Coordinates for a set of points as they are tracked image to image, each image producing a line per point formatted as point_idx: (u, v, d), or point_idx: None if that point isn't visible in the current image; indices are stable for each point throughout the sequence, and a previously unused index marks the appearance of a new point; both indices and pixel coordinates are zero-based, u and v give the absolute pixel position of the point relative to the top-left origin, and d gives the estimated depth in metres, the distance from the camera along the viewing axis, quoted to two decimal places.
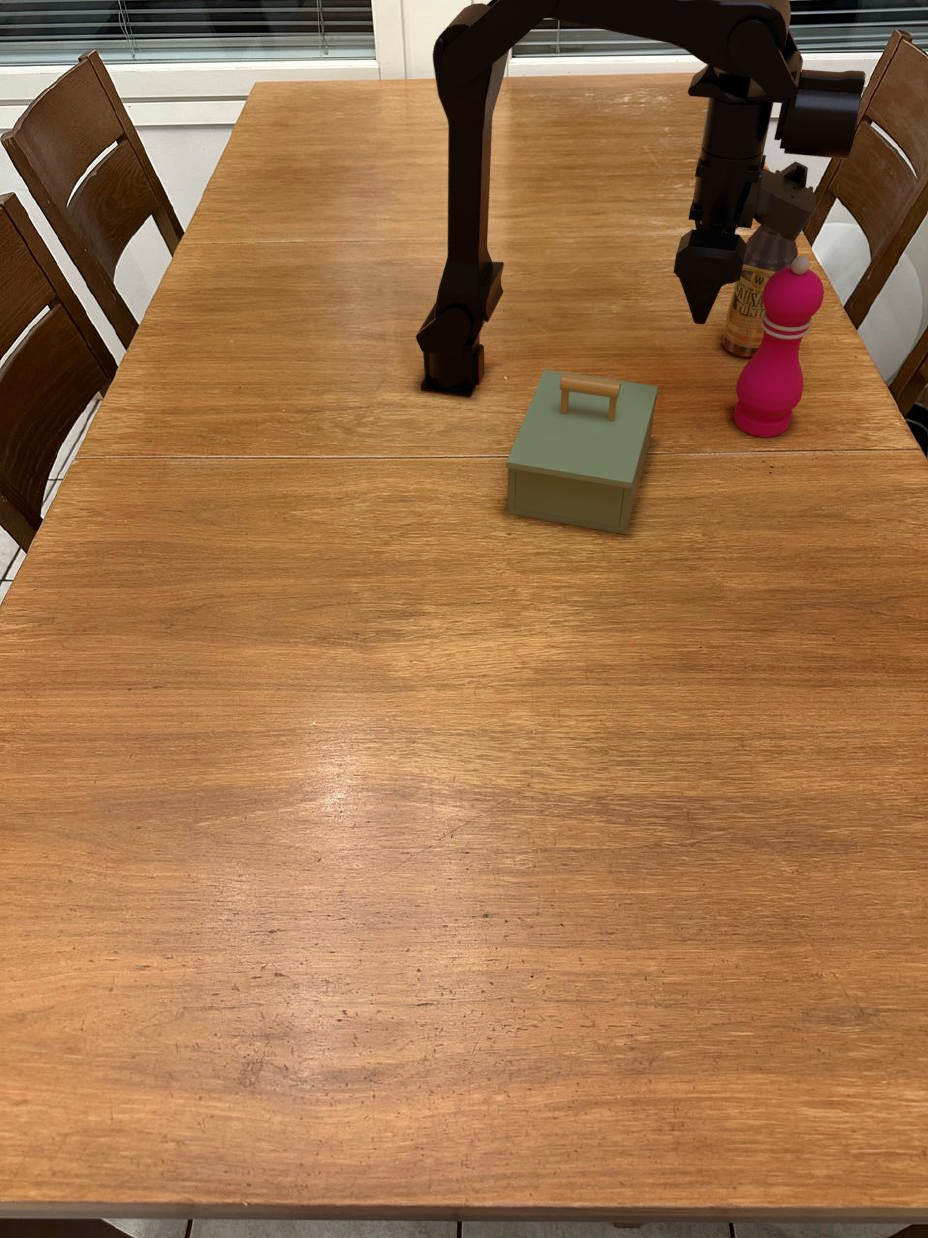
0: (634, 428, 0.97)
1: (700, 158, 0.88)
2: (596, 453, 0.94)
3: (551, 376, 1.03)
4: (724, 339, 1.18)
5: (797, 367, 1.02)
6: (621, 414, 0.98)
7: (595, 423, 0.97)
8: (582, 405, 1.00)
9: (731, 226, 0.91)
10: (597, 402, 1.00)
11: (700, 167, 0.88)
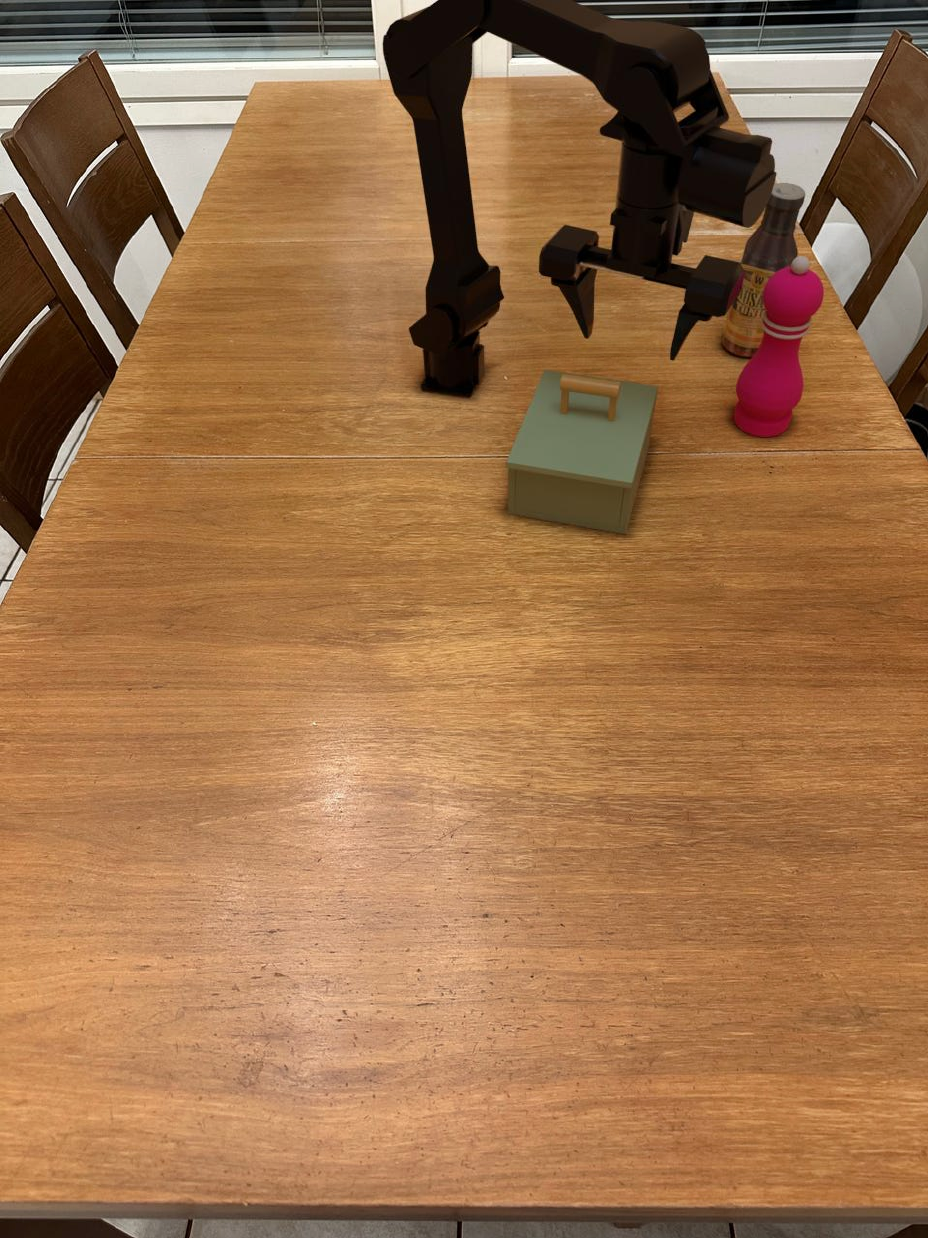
0: (634, 428, 0.97)
1: (647, 219, 0.83)
2: (596, 453, 0.94)
3: (551, 376, 1.03)
4: (724, 339, 1.18)
5: (797, 367, 1.02)
6: (621, 414, 0.98)
7: (595, 423, 0.97)
8: (582, 405, 1.00)
9: None
10: (597, 402, 1.00)
11: (663, 224, 0.83)
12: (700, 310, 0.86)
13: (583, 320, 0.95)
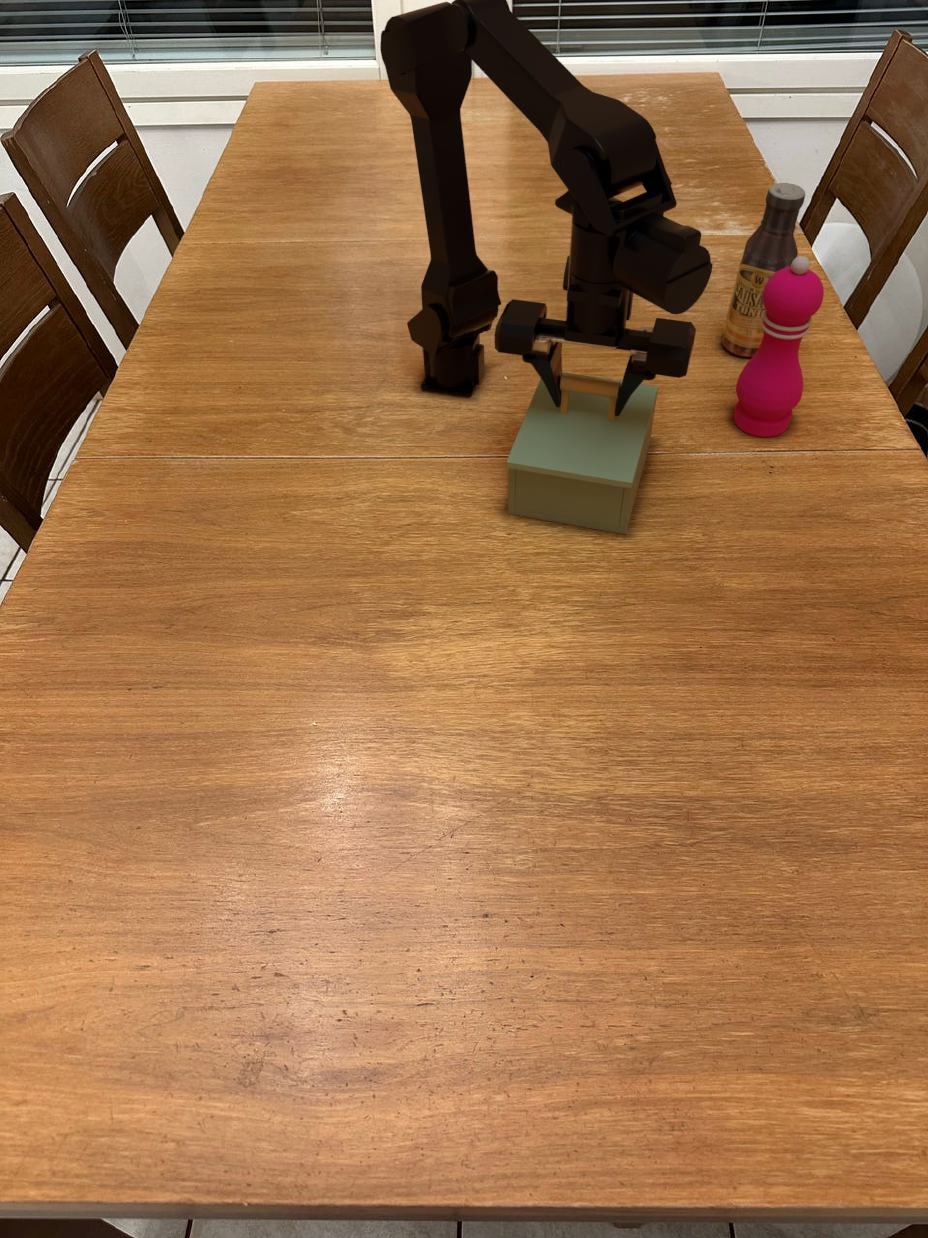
0: (634, 428, 0.97)
1: (604, 293, 0.85)
2: (596, 453, 0.94)
3: None
4: (724, 339, 1.18)
5: (797, 367, 1.02)
6: (621, 414, 0.98)
7: (595, 423, 0.97)
8: (582, 405, 1.00)
9: None
10: (597, 402, 1.00)
11: (620, 296, 0.85)
12: (662, 373, 0.89)
13: (555, 391, 0.96)
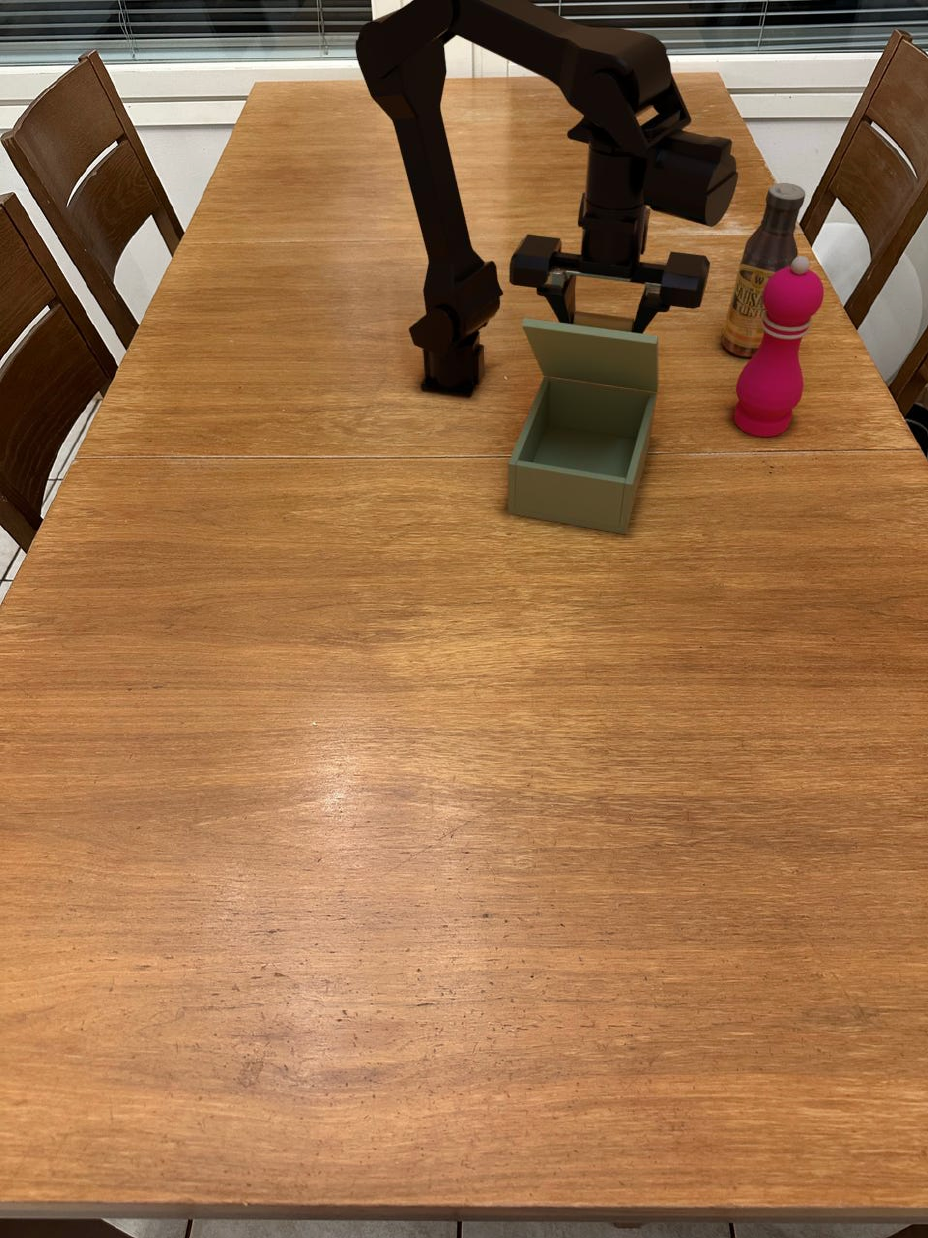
0: None
1: (620, 220, 0.85)
2: None
3: None
4: (724, 339, 1.18)
5: (797, 367, 1.02)
6: None
7: None
8: None
9: None
10: None
11: (635, 223, 0.85)
12: (676, 304, 0.89)
13: None
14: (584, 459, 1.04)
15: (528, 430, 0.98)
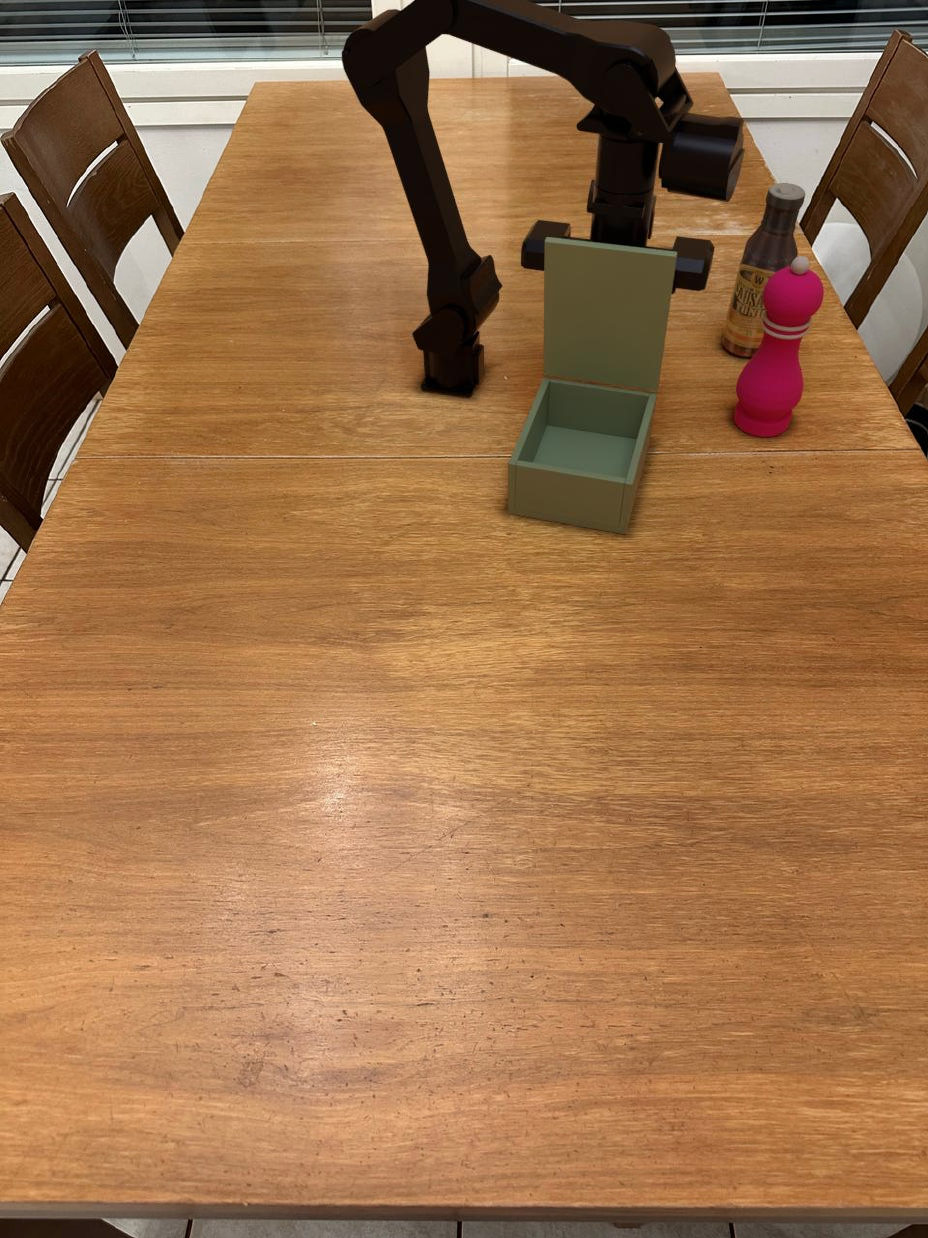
0: None
1: (628, 205, 0.89)
2: None
3: None
4: (724, 339, 1.18)
5: (797, 367, 1.02)
6: None
7: None
8: None
9: None
10: None
11: (643, 208, 0.89)
12: (682, 286, 0.92)
13: None
14: (584, 459, 1.04)
15: (528, 430, 0.98)
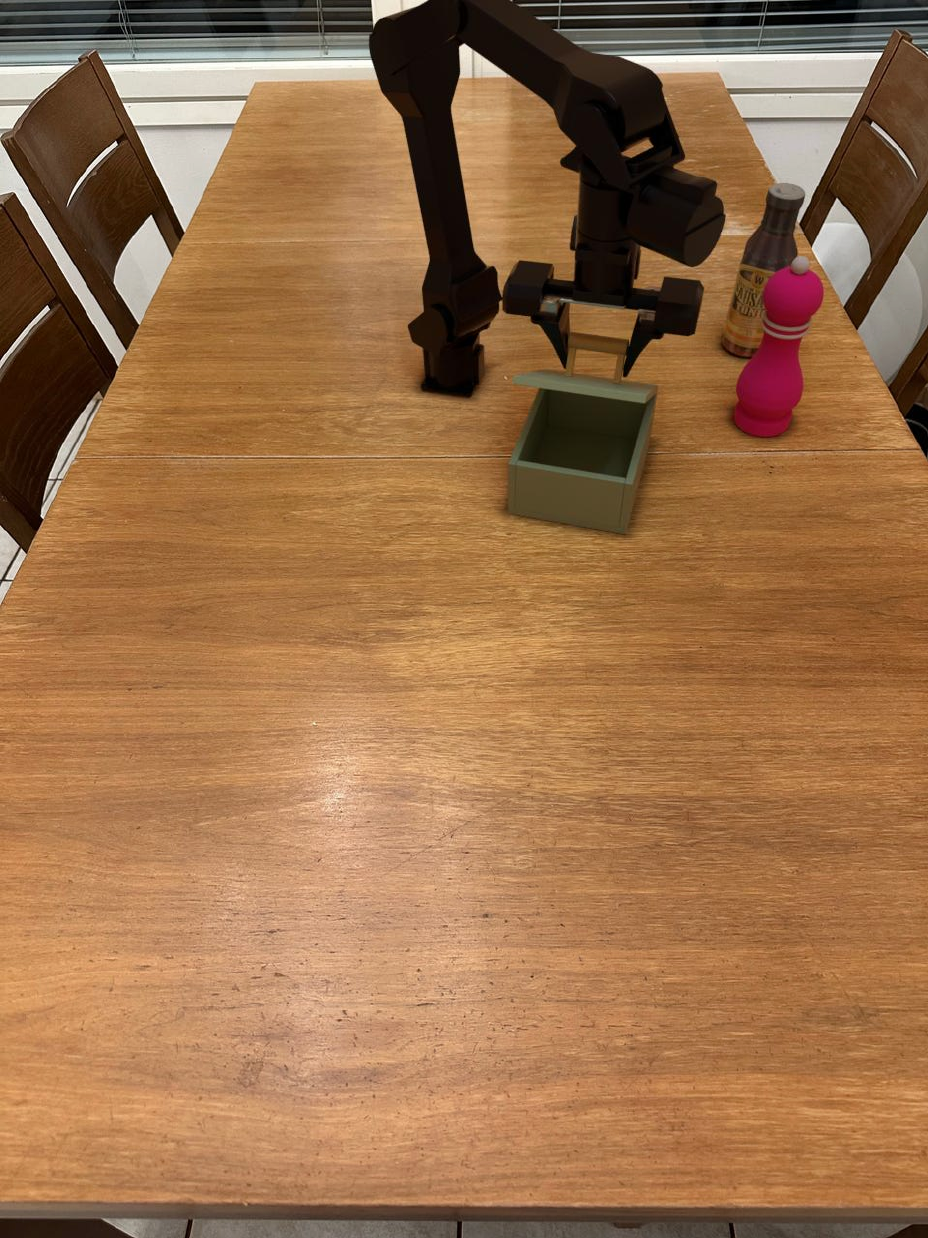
0: (641, 387, 0.94)
1: (612, 251, 0.85)
2: (606, 386, 0.91)
3: (552, 370, 1.03)
4: (724, 339, 1.18)
5: (797, 367, 1.02)
6: (626, 384, 0.97)
7: (601, 382, 0.95)
8: (586, 378, 0.98)
9: None
10: (600, 379, 0.99)
11: (628, 254, 0.85)
12: (670, 331, 0.89)
13: (564, 353, 0.96)
14: (584, 459, 1.04)
15: (528, 430, 0.98)
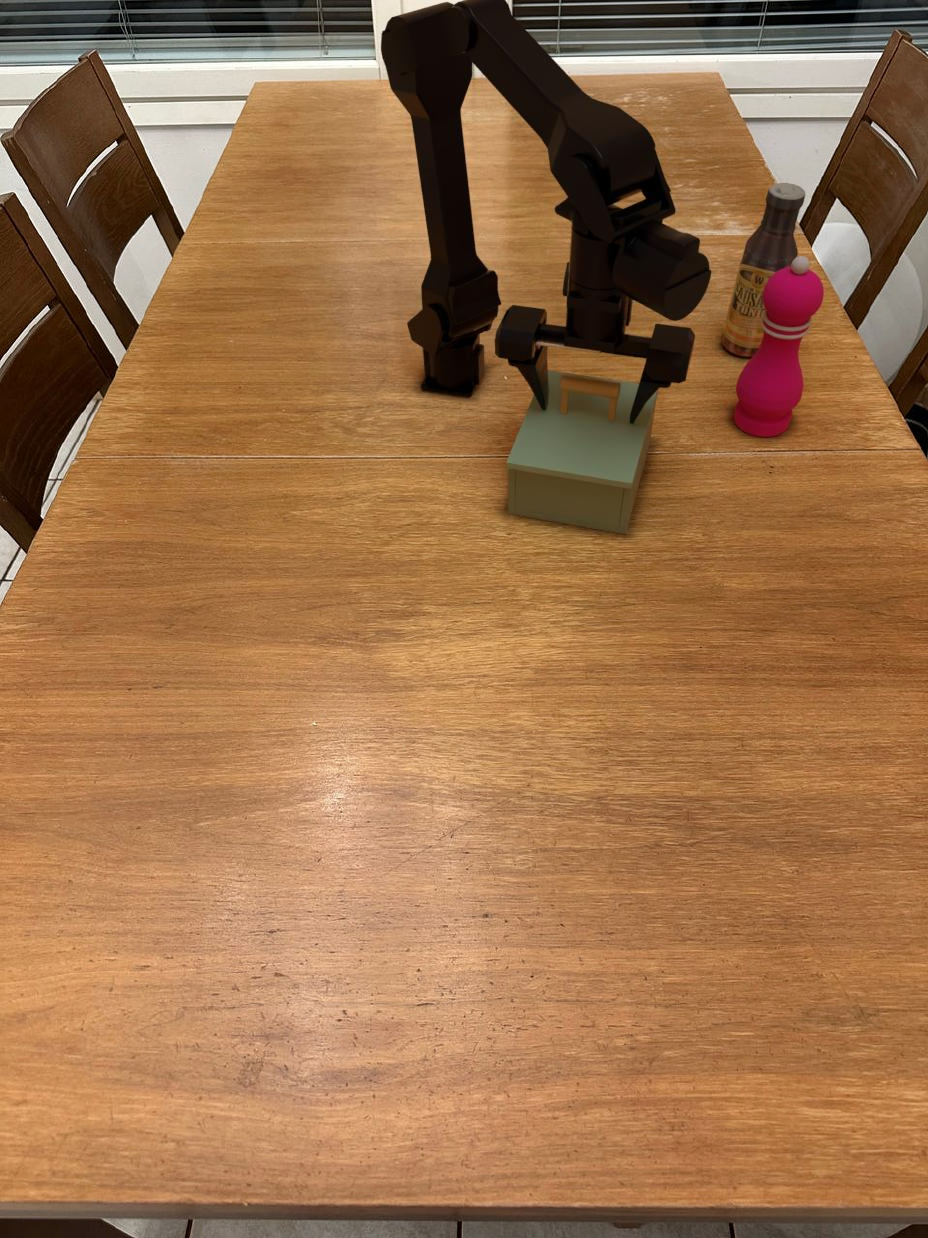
0: (634, 429, 0.97)
1: (604, 299, 0.85)
2: (596, 453, 0.94)
3: (551, 376, 1.03)
4: (724, 339, 1.18)
5: (797, 367, 1.02)
6: (621, 414, 0.98)
7: (595, 423, 0.97)
8: (582, 405, 1.00)
9: None
10: (597, 402, 1.00)
11: (619, 302, 0.85)
12: (661, 378, 0.89)
13: (541, 394, 0.96)
14: None
15: None
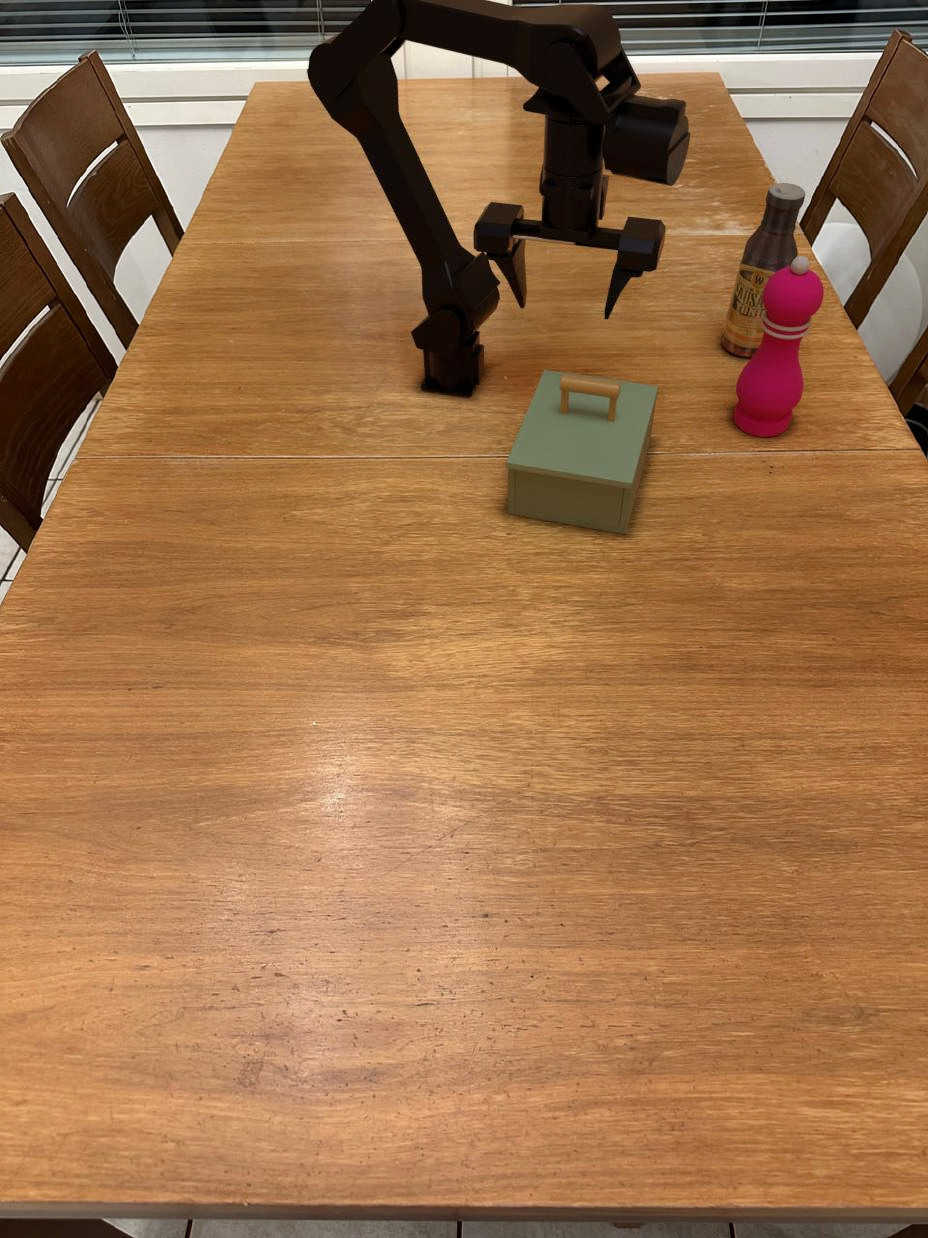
0: (634, 429, 0.97)
1: (576, 186, 0.89)
2: (596, 453, 0.94)
3: (551, 376, 1.03)
4: (724, 339, 1.18)
5: (797, 367, 1.02)
6: (621, 414, 0.98)
7: (595, 423, 0.97)
8: (582, 405, 1.00)
9: None
10: (597, 402, 1.00)
11: (591, 189, 0.89)
12: (633, 267, 0.93)
13: (519, 290, 1.00)
14: None
15: None
